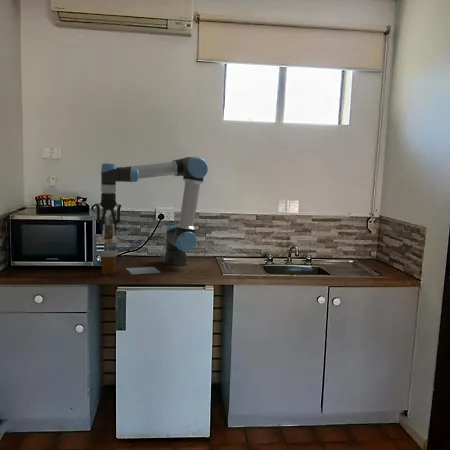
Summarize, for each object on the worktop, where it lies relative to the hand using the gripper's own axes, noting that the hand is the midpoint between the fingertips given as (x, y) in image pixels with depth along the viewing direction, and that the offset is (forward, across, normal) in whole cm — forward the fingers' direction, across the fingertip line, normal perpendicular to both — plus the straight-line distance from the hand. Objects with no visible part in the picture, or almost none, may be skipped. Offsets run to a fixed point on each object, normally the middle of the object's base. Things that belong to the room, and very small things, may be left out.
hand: (108, 236), depth 252 cm
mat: (+20, +19, -1) cm, 28 cm away
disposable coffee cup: (+21, 0, 0) cm, 21 cm away
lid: (+3, 0, 0) cm, 3 cm away
